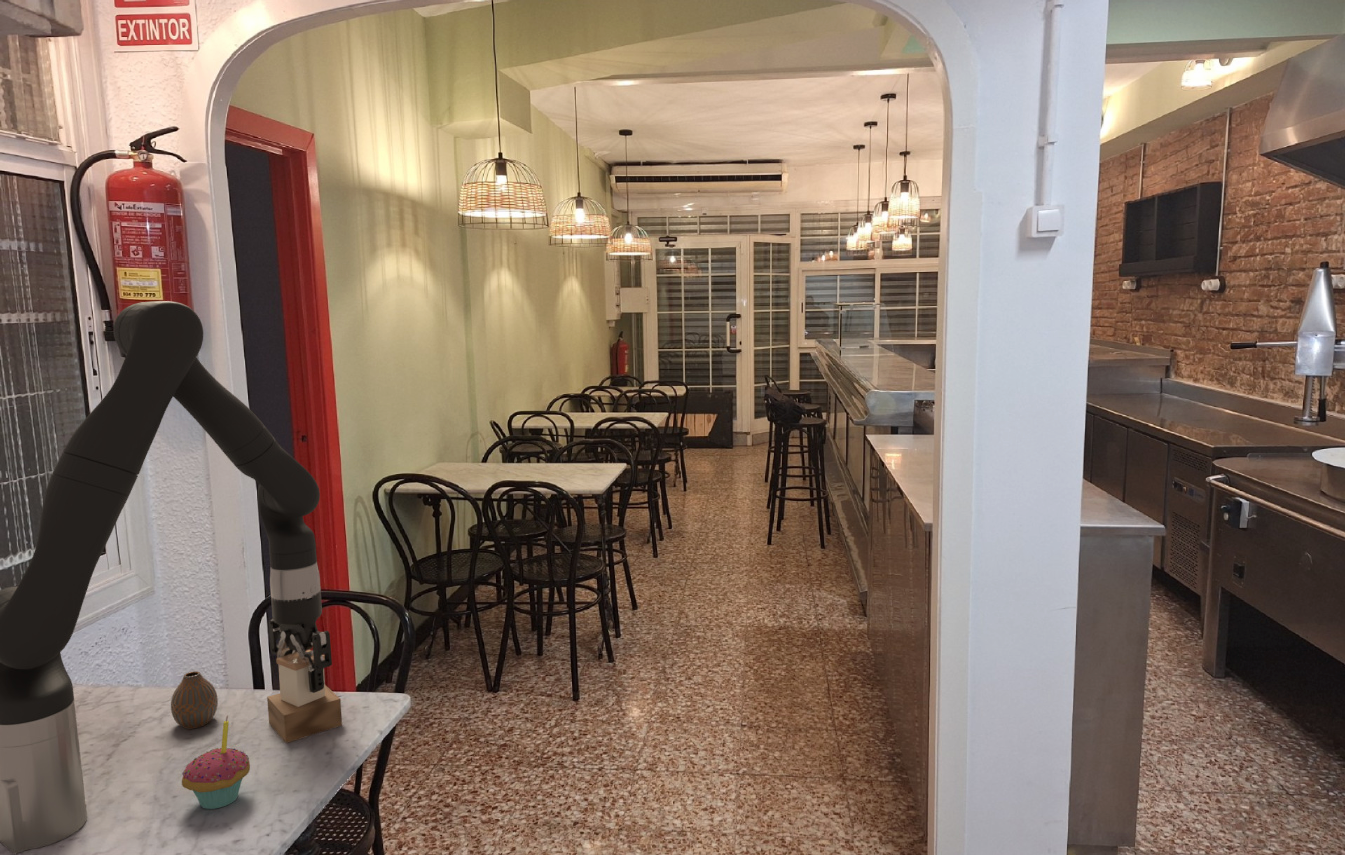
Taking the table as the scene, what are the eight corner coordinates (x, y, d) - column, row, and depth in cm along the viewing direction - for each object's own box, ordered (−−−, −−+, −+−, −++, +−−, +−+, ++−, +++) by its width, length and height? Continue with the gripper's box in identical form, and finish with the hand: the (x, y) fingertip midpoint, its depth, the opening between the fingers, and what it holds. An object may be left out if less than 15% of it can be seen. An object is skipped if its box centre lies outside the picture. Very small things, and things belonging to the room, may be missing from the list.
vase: (227, 714, 149) (223, 666, 148) (202, 734, 142) (198, 683, 141) (190, 713, 150) (186, 665, 148) (163, 732, 143) (158, 682, 142)
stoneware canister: (297, 707, 140) (295, 666, 140) (278, 699, 144) (276, 658, 143) (327, 695, 145) (325, 655, 144) (308, 688, 148) (305, 648, 147)
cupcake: (236, 777, 128) (230, 701, 127) (263, 797, 123) (257, 718, 121) (174, 803, 122) (166, 723, 120) (200, 825, 117) (192, 742, 115)
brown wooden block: (286, 744, 139) (283, 715, 138) (269, 725, 145) (267, 696, 145) (342, 727, 145) (340, 698, 144) (323, 708, 151) (321, 681, 151)
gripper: (250, 589, 143) (257, 683, 145) (300, 605, 135) (307, 704, 137) (291, 577, 149) (298, 667, 151) (342, 592, 141) (348, 687, 143)
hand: (302, 684), depth 144 cm, fingers open, 7 cm apart
